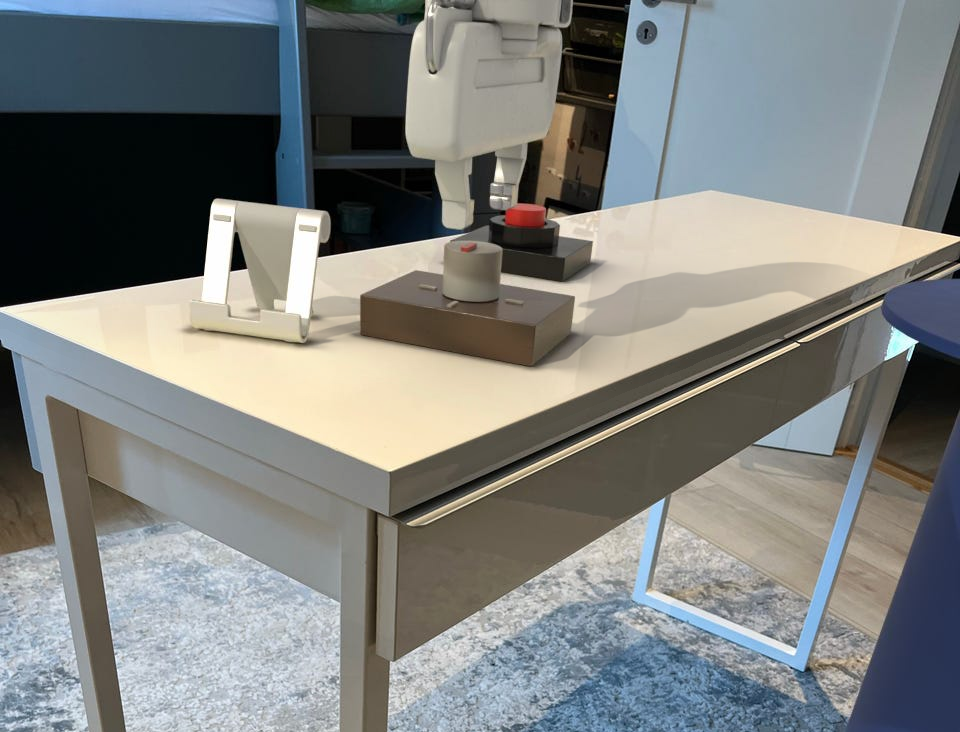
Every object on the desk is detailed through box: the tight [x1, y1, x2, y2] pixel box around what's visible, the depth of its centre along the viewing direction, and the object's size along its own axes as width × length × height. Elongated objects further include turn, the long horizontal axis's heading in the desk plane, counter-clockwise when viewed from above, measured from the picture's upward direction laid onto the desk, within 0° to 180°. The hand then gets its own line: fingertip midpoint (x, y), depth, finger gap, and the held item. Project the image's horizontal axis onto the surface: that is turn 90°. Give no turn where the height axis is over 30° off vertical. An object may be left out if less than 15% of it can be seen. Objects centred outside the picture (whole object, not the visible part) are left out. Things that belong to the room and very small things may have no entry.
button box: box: [449, 214, 594, 282], centre depth 97 cm, size 12×10×4 cm
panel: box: [359, 269, 576, 367], centre depth 75 cm, size 14×10×3 cm
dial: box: [442, 241, 503, 302], centre depth 73 cm, size 4×4×4 cm
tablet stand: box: [188, 198, 332, 344], centre depth 71 cm, size 9×8×8 cm
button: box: [504, 202, 547, 226], centre depth 96 cm, size 4×4×2 cm
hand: (481, 217), depth 70 cm, fingers open, 8 cm apart
